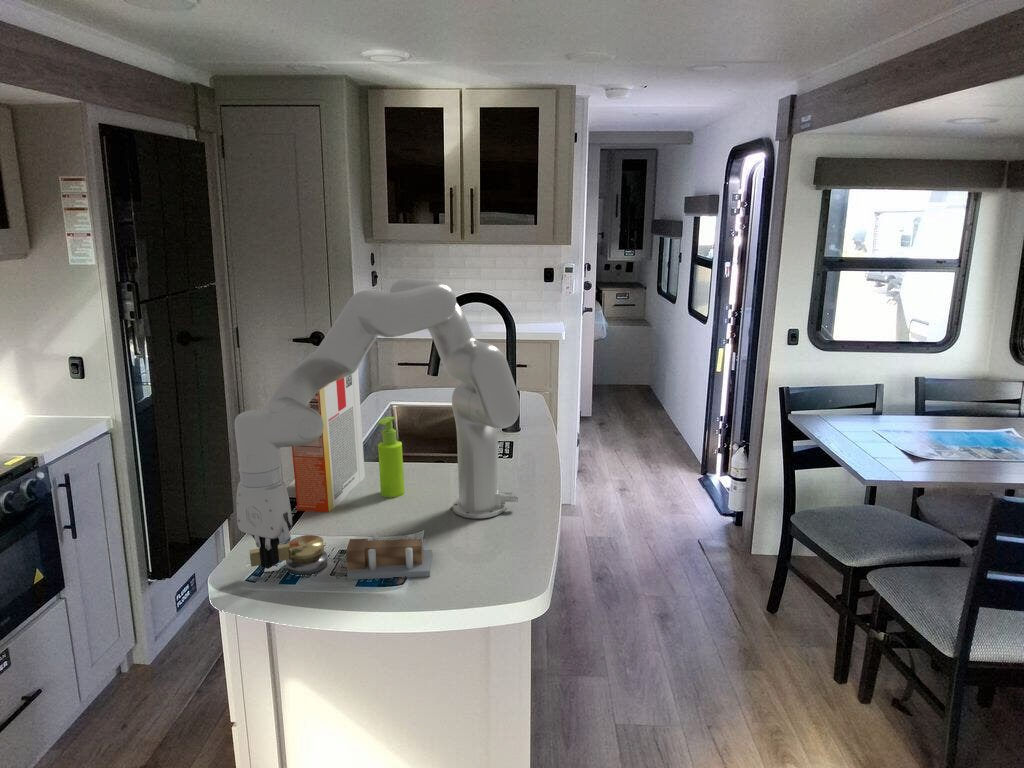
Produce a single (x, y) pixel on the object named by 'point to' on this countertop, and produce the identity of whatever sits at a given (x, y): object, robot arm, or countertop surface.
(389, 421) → the soap dispenser
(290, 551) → the gold lever handle
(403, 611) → the countertop surface
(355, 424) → the orange cereal box
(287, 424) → the robot arm
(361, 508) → the countertop surface
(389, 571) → the rack
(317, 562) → the base
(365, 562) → the tan wooden bar
